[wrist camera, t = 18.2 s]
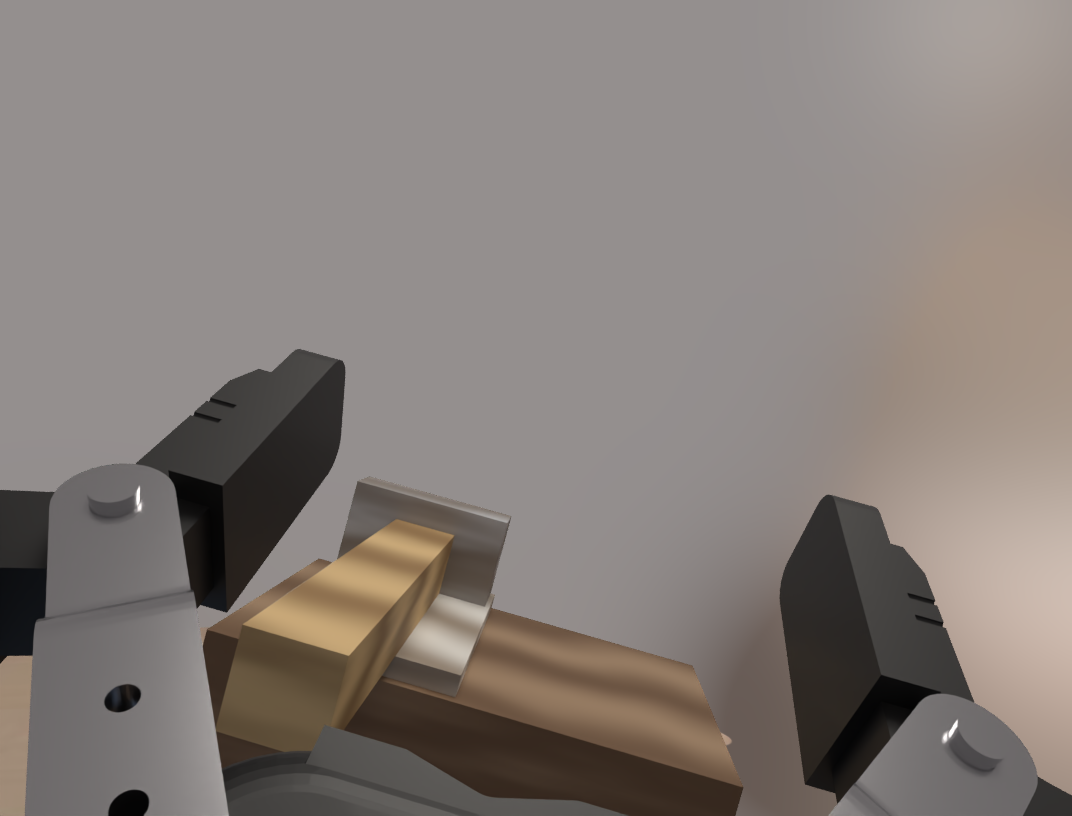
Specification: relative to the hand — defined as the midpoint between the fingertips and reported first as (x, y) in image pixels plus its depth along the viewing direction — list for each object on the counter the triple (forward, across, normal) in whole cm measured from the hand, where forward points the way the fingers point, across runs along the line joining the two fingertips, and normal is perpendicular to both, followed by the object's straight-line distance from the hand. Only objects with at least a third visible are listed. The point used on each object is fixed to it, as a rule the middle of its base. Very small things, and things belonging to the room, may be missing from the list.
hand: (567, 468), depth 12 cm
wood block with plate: (+12, +7, +21) cm, 25 cm away
